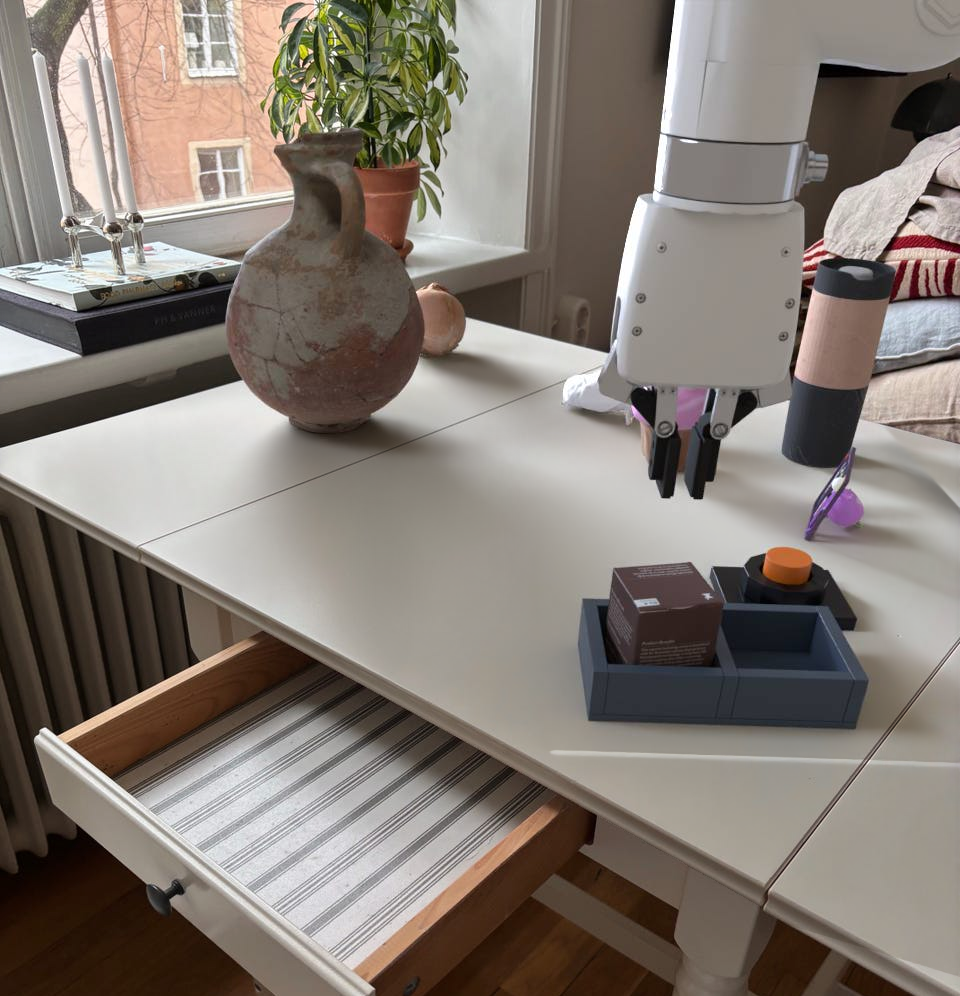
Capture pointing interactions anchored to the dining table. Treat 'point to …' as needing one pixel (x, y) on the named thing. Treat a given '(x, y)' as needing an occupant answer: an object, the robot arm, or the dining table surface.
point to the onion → (441, 320)
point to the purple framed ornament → (837, 499)
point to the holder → (733, 673)
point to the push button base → (781, 589)
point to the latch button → (787, 565)
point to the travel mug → (836, 359)
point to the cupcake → (686, 416)
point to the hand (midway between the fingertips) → (678, 489)
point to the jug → (324, 299)
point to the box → (662, 617)
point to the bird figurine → (592, 396)
